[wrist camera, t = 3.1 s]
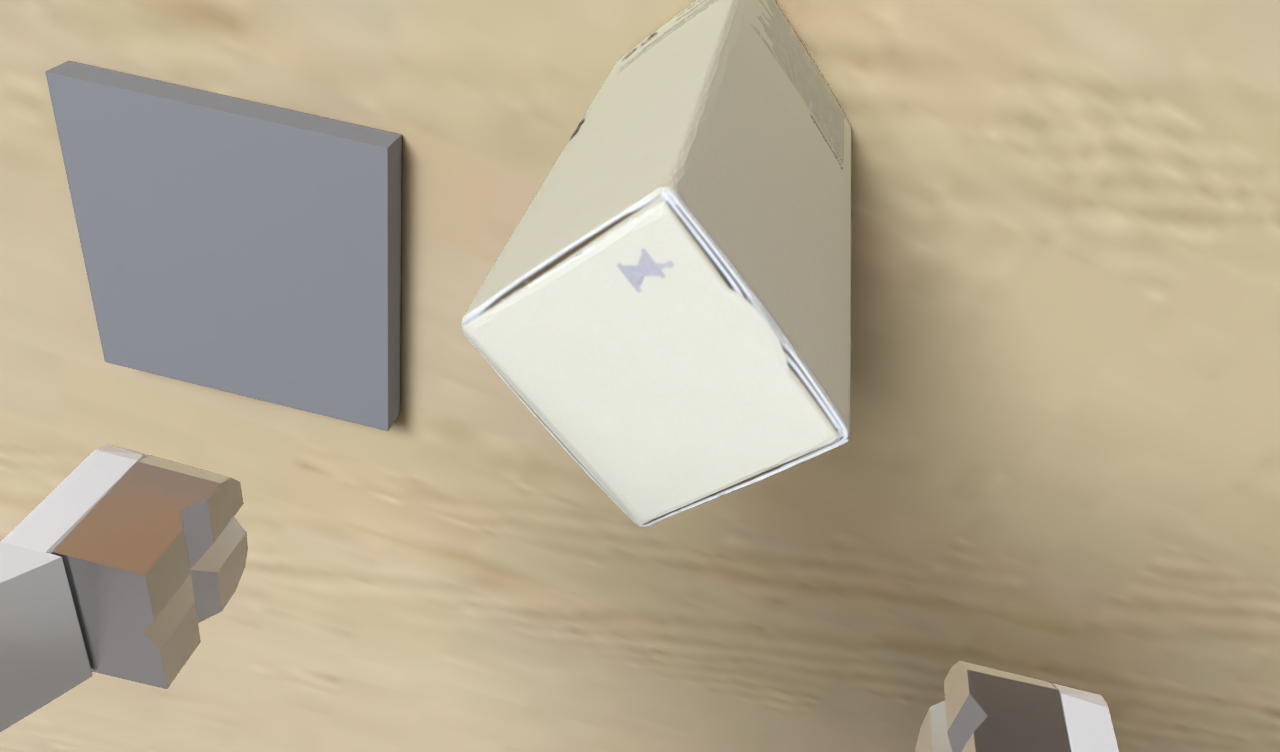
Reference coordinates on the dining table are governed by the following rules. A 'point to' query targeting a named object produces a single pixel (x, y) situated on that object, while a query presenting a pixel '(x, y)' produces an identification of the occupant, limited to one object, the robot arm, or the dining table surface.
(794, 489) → the dining table surface
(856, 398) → the dining table surface
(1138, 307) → the dining table surface
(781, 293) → the box
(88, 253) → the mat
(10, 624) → the robot arm
